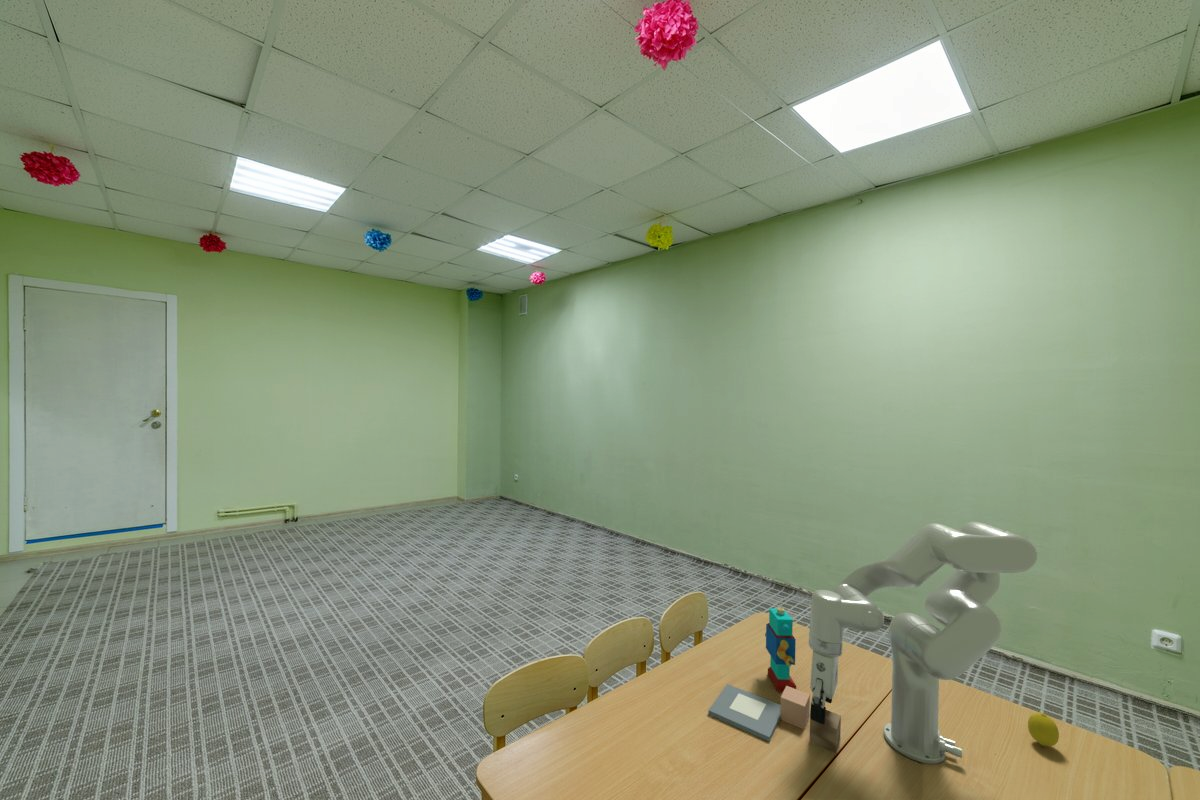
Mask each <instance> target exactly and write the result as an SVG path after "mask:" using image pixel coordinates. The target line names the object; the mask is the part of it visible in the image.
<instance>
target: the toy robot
mask: <svg viewBox="0 0 1200 800" xmlns="http://www.w3.org/2000/svg"><path fill="white" fill-rule="evenodd" d="M780 603H781V604H780ZM778 604H779V606H778V607H777V608H769V614H768V619H769V621H768V622H767V623H766V624H765V627H766V628H765V633H764V636H765V649H766V651H767V652H768V654H769V655H770V666H769V667H768V668H767V676H768V677H769V679H770V681H771V682H772V684H773V686H774V687H775V689H776V691H777V692H784V690H785V688H786V686H789V687H791V688H794V689H797V685H796V683H795V682H794V680H793V679H792V677H791V675H790V670H791V667H792V666H795V665H796V638H795V637H794V635H793V626H794V621H793V618H792V617H791V616H790V615H789V613H787V611H786V609H785V608H784V605H783V601H782V600H781V599H779V601H778Z"/></svg>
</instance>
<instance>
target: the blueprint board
mask: <svg viewBox="0 0 1200 800" xmlns="http://www.w3.org/2000/svg"><path fill="white" fill-rule="evenodd" d="M780 707H781V704H779V703H778V702H777V703H776V702H774V701H772V700H769V699H766V698H764V697H762V696H759V695H757V694H754V693H751V692H749V691H746V690H744V689H741V688H738V687H736V686H733V685H732V684H729V683H727V684H726V685H725V686H724V687H723V689H722V690H721V692H720V693H719V695H718V696H717V697H716V699H715V700H714V702H713V703H712V704H711V706H710V707H709V709H708V711H707V712H708V714H707V715H709V716H711V717H713V718H715V719H718V720H720V721H721V722H724V723H726V724H728V725H731V726H733V727H735V728H738V729H739V730H742V731H745V732H747V733H749V734H751V735H753V736H756V737H757V738H760V739H762V740H764V741H767V742H771V740H772V737H773V735H774V733H775V731H776V729H777V727H778V724H780V721H781V719H780Z"/></svg>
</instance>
